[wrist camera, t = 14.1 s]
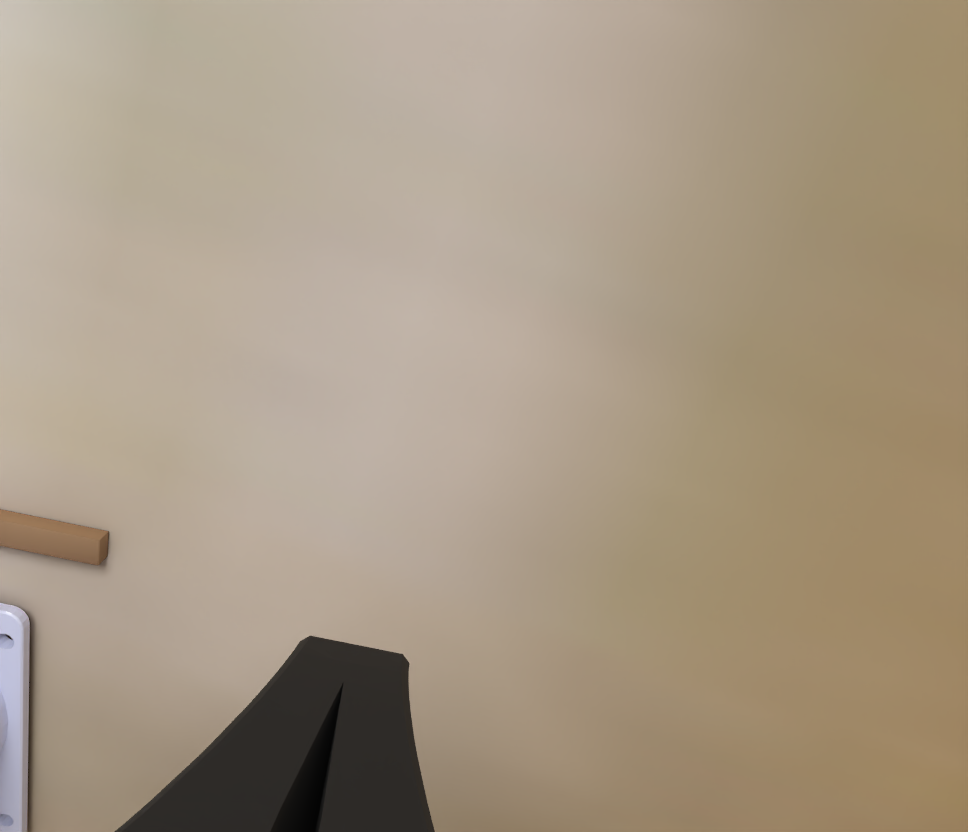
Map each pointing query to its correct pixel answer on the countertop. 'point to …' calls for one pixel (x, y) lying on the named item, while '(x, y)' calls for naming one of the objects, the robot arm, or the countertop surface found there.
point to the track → (53, 538)
